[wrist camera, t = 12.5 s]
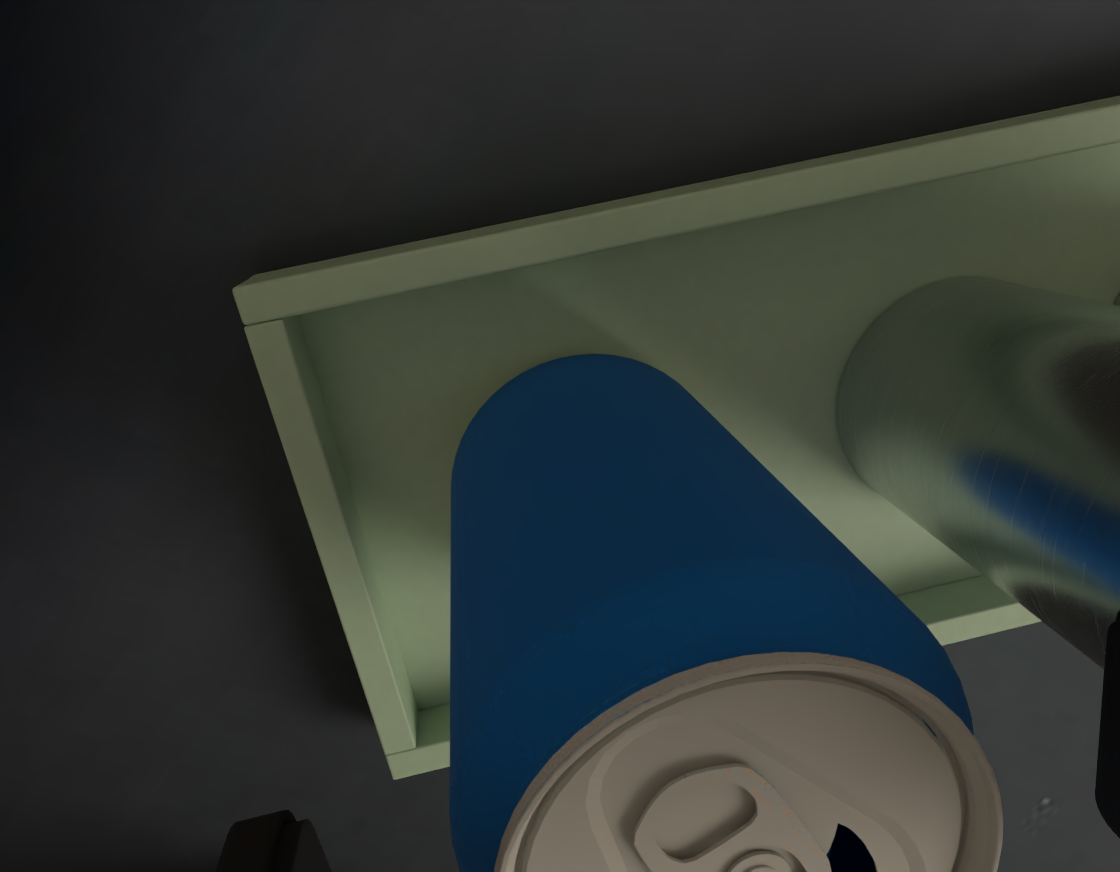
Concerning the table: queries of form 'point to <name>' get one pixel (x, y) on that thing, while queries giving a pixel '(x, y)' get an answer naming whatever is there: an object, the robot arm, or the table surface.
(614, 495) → the beverage can
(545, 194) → the table surface
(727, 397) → the tray
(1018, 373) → the can
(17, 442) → the table surface
